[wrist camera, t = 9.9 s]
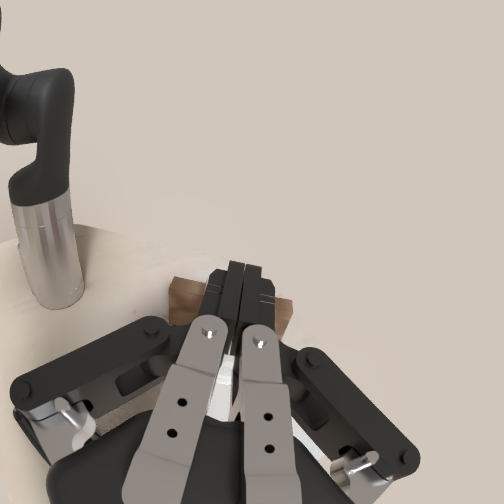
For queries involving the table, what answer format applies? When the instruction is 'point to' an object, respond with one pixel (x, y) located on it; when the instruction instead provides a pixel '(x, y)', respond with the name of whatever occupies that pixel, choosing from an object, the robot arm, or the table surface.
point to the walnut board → (190, 298)
